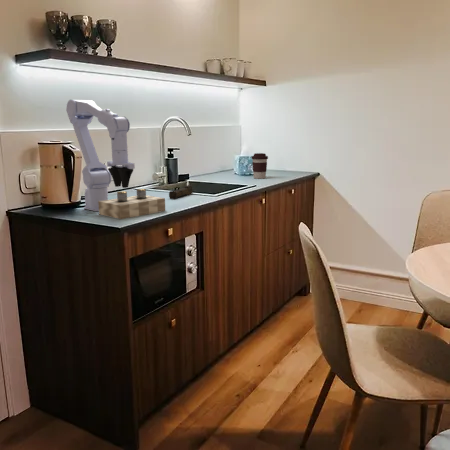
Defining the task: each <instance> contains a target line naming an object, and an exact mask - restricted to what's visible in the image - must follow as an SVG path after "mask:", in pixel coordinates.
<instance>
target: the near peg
mask: <svg viewBox="0 0 450 450" xmlns="http://www.w3.org/2000/svg"><path fill="white" fill-rule="evenodd" d="M116 194H117V198H116V199H117V200H118V202H121V203H122V202H127V197H128V192H127V191H125V190H124V191H122V190H121V191H116Z"/></svg>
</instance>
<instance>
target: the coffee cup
mask: <svg viewBox="0 0 450 450" xmlns="http://www.w3.org/2000/svg"><path fill="white" fill-rule="evenodd" d="M268 159H269V156H268V155H266V153H261V152H256V153H253V155H251V160H252V163H251V164H252V174H253V175H252V176H253V179H255V180H256V179H257V180H263V179H264V180H265V179H266V177H267V175H266V174H267V169H268Z"/></svg>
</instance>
